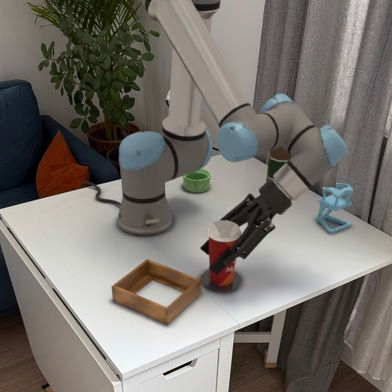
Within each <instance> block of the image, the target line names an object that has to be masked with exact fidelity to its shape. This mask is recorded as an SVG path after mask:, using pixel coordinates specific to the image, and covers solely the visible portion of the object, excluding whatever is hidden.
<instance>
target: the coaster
mask: <svg viewBox="0 0 392 392" xmlns="http://www.w3.org/2000/svg"><path fill="white" fill-rule="evenodd" d="M199 279H201V286H202V287H204V288H205V289H206V290H208V291H210V292H213V293H218V294H226V293H231V292H234V291H236V290H237V289H239V288H240V287H241V285H242V276H241V274H239V273H238V272H237V271H235V270H234V276H233V280H232V282H231V283H230V284H228V285H225V286H219V285H215V284H213V283H212V282H211V280H210V269H209V268H208V269H207V270H205V271H203V273H202V274H201V275H200V278H199Z"/></svg>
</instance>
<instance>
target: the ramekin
mask: <svg viewBox="0 0 392 392" xmlns="http://www.w3.org/2000/svg"><path fill="white" fill-rule="evenodd" d="M211 178H212V173H211V172H210V171H209V170H208V169H205V168H202V169H199V170H198V171H196V172H194V173H191V174H187V175H184V176H182V182H183V183H182V184H183V188H184V190H186V191H188V192H191V193H203V192H206V191H208V189H209V188H210V182H211Z"/></svg>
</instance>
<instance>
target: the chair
mask: <svg viewBox="0 0 392 392" xmlns="http://www.w3.org/2000/svg"><path fill="white" fill-rule="evenodd" d="M341 187H342V188H341ZM339 188H340V189H339ZM326 192H327V193H330V194H331V195H328V196H327V194H326ZM353 194H354V189H353V188H352V187H351V185H350V184H348V183H345V182H344V183H343V182H342V183H338V182H336V183H335V187H334V186H333V187H332V186H331V187H323V186H322V197H321V198H318V203H319V209H318V212H317V216H316V221H317V222H318V223H319V224H320V225H321V226H322V227H323V228H324V229H325V230H326V231H327V233H329V234H331V235H333V234H335V233H337V232H340V231H342V230H346V229H347V228H350V227H351V223H350V222H349V221H346V220H344V219H340V218H337V217H334V216H332V215H330V214H331V212H332V211H333V212H338V211H340V210H342V209H345V208H349V207H351V206H352V204H353V202H352V201H350V199H351V196H352V195H353ZM346 195H347V197H346V199H345V198H344V197H345V196H346ZM324 211H325V212H324ZM324 219H325V220H327V221H331V222H334V223H337V224H340V226H337V227H335V228H331V227H330V226H329V225H328V223H327V222H326V221H325V220H324Z"/></svg>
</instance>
